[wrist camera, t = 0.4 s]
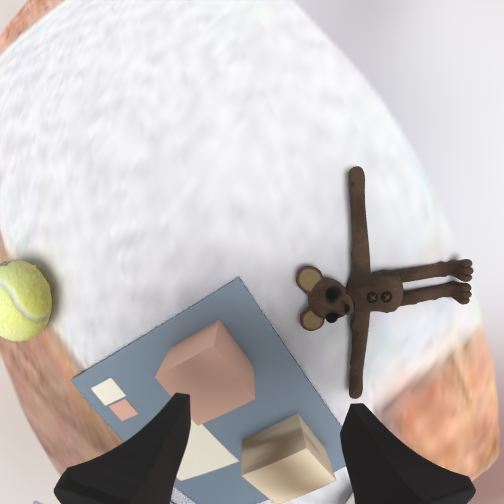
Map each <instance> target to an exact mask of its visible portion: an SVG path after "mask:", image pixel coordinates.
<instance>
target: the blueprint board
mask: <svg viewBox="0 0 504 504" xmlns="http://www.w3.org/2000/svg"><path fill="white" fill-rule="evenodd" d="M219 319H220V321H221V322H222V323H223V325H224V326H225V328H226V329H227V330H228V332H229V333H230V335H231V336H232V337H233V339H234V340H235V341H236V343H237V344H238V346H239V347H240V348H241V350H242V351H243V352H244V354H245V355H246V357H247V358H248V359H249V361H250V362H251V363H252V365H253V366H254V382H255V399H254V400H252V401H250V402H248V403H246V404H244V405H242V406H240V407H238V408H236V409H234V410H232V411H230V412H228V413H225V414H223V415H221V416H219V417H217V418H214V419H212V420H210V421H208V422H205V423H203V424H201V425H199V426H197V425H196V424H195V422H194V421H193V420H192V419H191V429H190V434H189V439H188V444H187V447H186V450H185V453H184V456H183V459H182V462H181V464H180V467H179V470H178V473H177V476H176V479H175V483H174V487H175V488H176V489H178V490H179V491H180V492H182V493H183V494H184V495H185V496H187V497H188V498H189V499H191V500H192V501H193V502H195V503H196V504H257V503H260V502H263V501H266V500H269V498H268V497H267V496H265V495H264V494H263V493H262V492H260V491H259V490H258V489H257V488H255V487H254V486H253V485H252V484H251V483H249V482H248V481H247V480H246V479H245V478H244V477H242V476H241V457H242V439H245V438H247V437H249V436H252V435H254V434H256V433H258V432H260V431H263V430H265V429H267V428H269V427H271V426H273V425H275V424H277V423H279V422H281V421H283V420H285V419H287V418H289V417H291V416H293V415H295V414H297V413H298V414H299V416H300V417H301V418H302V419H303V421H304V422H305V423H306V424H307V426H308V427H309V428H310V429H311V431H312V432H313V433H314V434H315V436H316V437H317V438H318V439H319V440H320V442H321V443H322V444H323V445H324V447H325V448H326V451H327V454H328V457H329V460H330V463H331V466H332V469H333V472H335V471H337V470H339V469H341V468H343V467H345V466H346V463H345V460H344V456H343V452H342V447H341V439H340V431H341V429H342V427H341V426H340V424H339V423H338V421H337V420H336V418H335V417H334V416H333V414H332V413H331V411H330V410H329V409H328V407H327V406H326V404H325V403H324V401H323V400H322V399H321V397H320V396H319V394H318V393H317V391H316V390H315V389H314V387H313V386H312V384H311V383H310V381H309V380H308V379H307V377H306V376H305V374H304V373H303V371H302V370H301V368H300V367H299V366H298V364H297V363H296V361H295V360H294V358H293V357H292V355H291V354H290V352H289V351H288V349H287V348H286V347H285V345H284V344H283V342H282V341H281V339H280V338H279V336H278V335H277V333H276V332H275V330H274V329H273V327H272V326H271V324H270V323H269V321H268V320H267V318H266V317H265V315H264V314H263V312H262V311H261V309H260V308H259V306H258V305H257V303H256V302H255V300H254V299H253V297H252V296H251V294H250V293H249V291H248V290H247V288H246V287H245V285H244V284H243V282H242V281H241V279H240V278H239V277H238V278H236V279H234V280H233V281H231V282H230V283H228V284H226V285H225V286H223V287H222V288H220V289H218V290H217V291H215V292H214V293H212V294H210V295H209V296H207V297H205V298H204V299H202V300H201V301H199V302H197V303H196V304H194V305H193V306H191V307H189V308H188V309H186V310H184V311H183V312H181V313H180V314H178V315H176V316H175V317H173V318H171V319H170V320H168V321H167V322H165V323H163V324H162V325H160V326H158V327H157V328H155V329H153V330H152V331H150V332H148V333H147V334H145V335H144V336H142V337H140V338H139V339H137V340H135V341H134V342H132V343H130V344H129V345H127V346H125V347H124V348H122V349H120V350H119V351H117V352H115V353H114V354H112V355H110V356H109V357H107V358H105V359H104V360H102V361H100V362H99V363H97V364H95V365H94V366H92V367H90V368H89V369H87V370H85V371H84V372H82V373H80V374H79V375H77V376H75V377H74V378H73V379H72V380H71V382H72V383H73V384H74V386H75V387H76V388H77V389H78V391H79V392H80V393H81V394H82V395H83V397H84V398H85V399H86V400H87V402H88V403H89V404H90V405H91V406H92V407H93V409H94V410H95V411H96V412H97V413H98V414H99V415H100V417H101V418H102V419H103V420H104V421H105V422H106V423H107V424H108V425H109V426H110V427H111V429H112V430H113V431H114V432H115V433H116V434H117V435H118V436H119V437H120V438H121V439H122V440H123V441H124V442H125V441H127V440H128V439H129V438H131V437H132V436H133V435H135V434H136V433H137V432H138V431H140V430H141V429H142V428H143V427H144V426H145V425H146V424H147V423H149V422H150V421H151V420H152V419H153V418H154V417H155V416H156V414H157V413H158V412H159V411H160V410H161V409H162V408H163V407H164V406H165V405H166V404H167V402H168V401H169V400H170V399H171V396H170V395H169V394H168V392H167V391H166V390H165V389H164V388H163V386H162V385H161V384H160V383H159V382H158V380H157V379H156V378H155V376H156V374H157V372H158V370H159V368H160V366H161V364H162V362H163V360H164V359H165V357H166V355H167V353H168V351H169V349H170V348H171V347H173V346H174V345H176V344H178V343H180V342H181V341H183V340H185V339H187V338H188V337H190V336H192V335H193V334H195V333H197V332H199V331H200V330H202V329H204V328H205V327H207V326H209V325H210V324H212V323H214V322H216V321H217V320H219Z"/></svg>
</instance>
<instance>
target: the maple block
mask: <svg viewBox="0 0 504 504" xmlns="http://www.w3.org/2000/svg"><path fill="white" fill-rule="evenodd" d="M241 476H242V477H244V478H245V479H246V480H247V481H248V482H249V483H251V484H252V485H253V486H254V487H255V488H257V489H258V490H259V491H260V492H262V493H263V494H264V495H265V496H267V497H268V498H269V499H270V500H272V501H273V502H274V503H276V504H282V503H284V502H287V501H290V500H292V499H295V498H297V497H300V496H302V495H305V494H307V493H310V492H312V491H314V490H317V489H319V488H321V487H323V486H326V485H328V484H330V483H332V482H334V481H336V478H335V475H334V472H333V469H332V466H331V463H330V460H329V457H328V454H327V451H326V448H325V447H324V445H323V444H322V443H321V442H320V440H319V439H318V438H317V437H316V436H315V434H314V433H313V432H312V431H311V429H310V428H309V427H308V426H307V424H306V423H305V422H304V421H303V419H302V418H301V417H300V416H299V414H298V413H297V414H295V415H293V416H291V417H289V418H287V419H285V420H283V421H281V422H279V423H277V424H275V425H273V426H271V427H269V428H267V429H265V430H263V431H260V432H258V433H256V434H254V435H252V436H249V437H247V438H245V439H242V457H241Z"/></svg>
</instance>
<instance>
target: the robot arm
mask: <svg viewBox="0 0 504 504" xmlns="http://www.w3.org/2000/svg"><path fill="white" fill-rule="evenodd" d="M190 429H191V410H190V394H184V393H177V392H176V393H175V394H174V395H173V396H172V397H171V399H170V400H169V401H168V402H167V404H166V405H165V406H164V407H163V408H162V409H161V410H160V411H159V412H158V413H157V414H156V416H155V417H154V418H153V419H152V420H151V421H150V422H149V423H147V424H146V425H145V426H144V427H143V428H142V429H141V430H140V431H138V432H137V433H136V434H135V435H133V436H132V437H131V438H129V439H128V440H127V441H125V442H124V443H122V444H121V445H119V446H117V447H116V448H114V449H112V450H111V451H109V452H107V453H105V454H103V455H101V456H99V457H97V458H94V459H92V460H90V461H87V462H84V463H81V464H78V465H75V466H72V467H68V468H67V469H66V471H65V472H64V473H63V474H62V476H61V477H60V479H59V481H58V483H57V484H56V486H55V488H54V494H55V496H56V497H57V499H58V500H59V502H60V503H61V504H173V503H171V502H170V500H171V495H172V490H173V486H174V483H175V479H176V476H177V473H178V470H179V467H180V464H181V462H182V459H183V456H184V453H185V450H186V447H187V444H188V439H189V434H190ZM340 439H341V447H342V452H343V456H344V460H345V463H346V467H347V471H348V474H349V478H350V481H351V485H352V489H353V493H354V501H355V504H467V503H468V501H470V499H471V498H472V497H473V496H474V494H475V492H476V489H475V487H474V485H473V484H472V482H471V480H470V478H469V477H468V476H465V475H461V474H458V473H455V472H452V471H449V470H447V469H445V468H442V467H440V466H438V465H436V464H434V463H432V462H430V461H429V460H427V459H425V458H423V457H422V456H420V455H419V454H417V453H416V452H414V451H413V450H411V449H410V448H409V447H407V446H406V445H405V444H404V443H402V442H401V441H400V440H399V439H398V438H397V437H396V436H394V435H393V434H392V433H391V432H390V431H389V430H388V429H387V428H386V427H385V426H384V425H383V424H382V423H381V422H380V421H379V420H378V419H377V418H376V416H375V415H374V414H373V413H372V412H371V411H370V410H369V409H368V408H367V407H366V406H365V405H364V404H363V403H357V404H351V405H350V408H349V410H348V413H347V416H346V418H345V421H344V424H343V426H342V429H341V431H340ZM33 504H42V503H40V502H38V501H34V503H33Z"/></svg>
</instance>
